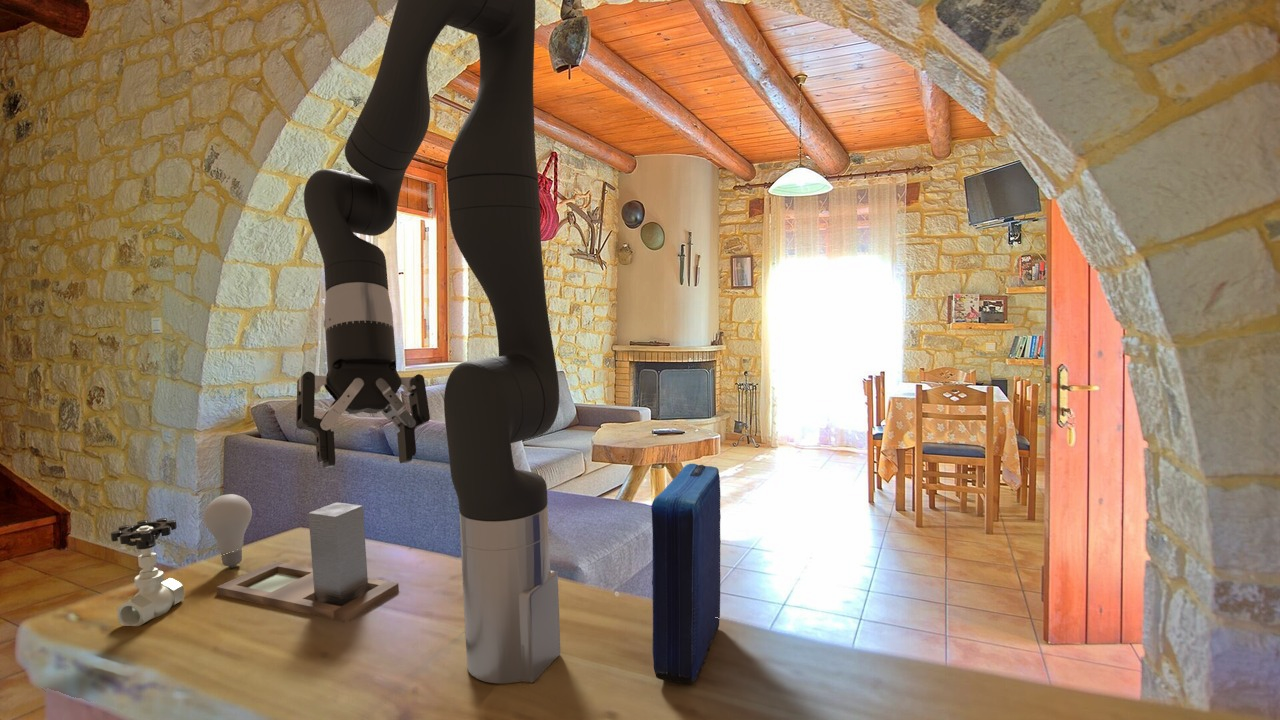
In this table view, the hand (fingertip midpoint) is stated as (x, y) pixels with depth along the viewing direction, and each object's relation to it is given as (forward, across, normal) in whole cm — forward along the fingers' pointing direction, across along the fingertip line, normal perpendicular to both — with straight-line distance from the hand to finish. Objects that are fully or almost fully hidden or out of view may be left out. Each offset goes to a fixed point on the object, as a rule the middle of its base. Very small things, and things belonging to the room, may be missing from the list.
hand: (369, 464), depth 77 cm
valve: (+13, -17, +32) cm, 38 cm away
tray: (+14, -1, +24) cm, 28 cm away
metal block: (+14, +2, +19) cm, 24 cm away
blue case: (+26, +27, -19) cm, 42 cm away
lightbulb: (+8, -6, +42) cm, 43 cm away
